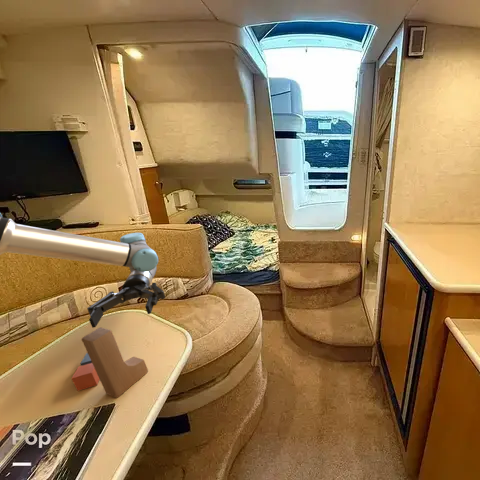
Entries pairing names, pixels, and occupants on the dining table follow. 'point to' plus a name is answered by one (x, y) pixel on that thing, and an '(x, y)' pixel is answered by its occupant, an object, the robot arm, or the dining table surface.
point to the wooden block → (112, 362)
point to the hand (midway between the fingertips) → (120, 316)
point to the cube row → (85, 374)
